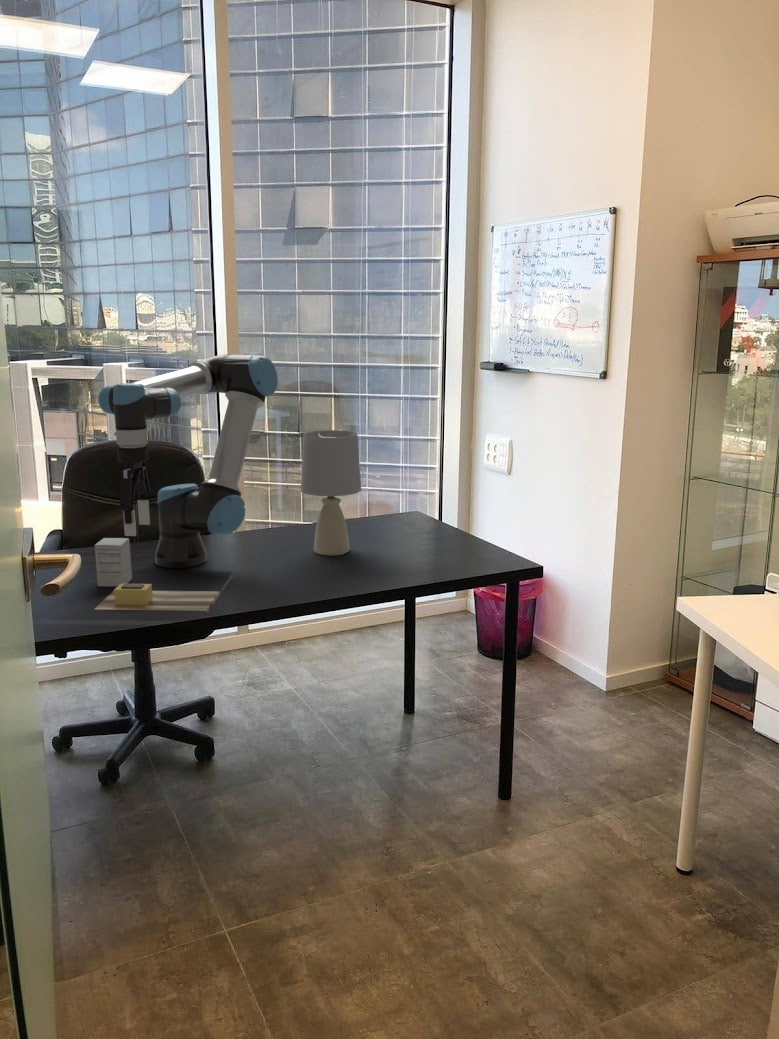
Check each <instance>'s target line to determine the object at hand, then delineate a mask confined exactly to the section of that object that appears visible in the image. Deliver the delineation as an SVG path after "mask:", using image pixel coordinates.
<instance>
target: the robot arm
mask: <svg viewBox="0 0 779 1039" xmlns="http://www.w3.org/2000/svg"><path fill="white" fill-rule="evenodd" d="M277 387H278V373H277V369H276V366H275V365H274V362H273V361H272V360H271V359H270V358H269V357H267V356H265V355H257V354H231V353H224V354H219V355H214V356H210V357H208V358H205V359H201V360H199V361H198V360H197V361H194V362H191V363H190V364H189V365H188V367H185V368H182V369H177V370H175V371H171V372H167V373H163V374H160V375H156V376H153V377H149V378H146V379H142V380H138V381H135V382H127V383H125V382H123V383H117V384H115V385H107V386H105V387H103V388H101V390H100V392H99V394H98V404H99V407H100V409H101V410H102V411H103V412H104V413H106V414H110V415H114V423H115V424H114V425H115V426H114V427H115V432H114V436H115V437H116V445H118V446H117V448H116V452H117V453H116V454H117V455H116V456H117V461H118V462H119V463H124V469H120V471H119V472H120V474H119V475H120V488H119V489H120V490H119V507H118V511H120V512H122V515H123V530H124V536H125V537H136V536H137V524H136V522H137V521H136V512H135V511H136V510H135V509H134V506H135V497H136V493H137V497H138V499H137V511H138V512H137V513H138V514H137V515H138V525H141V526H143V525H144V526H145V525H147V526H149V525H151V519H150V501H149V500H152V499H153V495H152V491H151V486H150V481H149V476H148V471H147V462H148V460H149V446H148V445H147V444H148V443H149V442H148V428H147V427H148V426H147V423H148V422H147V421H148V420H152V419H153V420H154V419H161V418H168V417H172V416H175V415H176V414H178V413H179V412H180V410H181V406H182V400H181V398H184V397H187V396H190V395H193V394H198V395H205V394H209V393H220V394H221V393H223V394H224V395H225V397H226V399H227V401H228V403H227V407H226V410H225V414H224V418H223V421H222V425H221V428H220V433H219V436H218V437H219V438H218V441H217V444H216V449H215V453H214V456H213V461H212V465H211V467H210V468H211V469H210V472H209V476H208V478H207V479H205V480H204V481H202V482H201V485H200V489H199V486H198V484H197V483H183V484H175V485H168V486H164V487H162V488H160V489H159V490H158V492H157V503H156V504H157V514H158V527H159V539H158V542H157V547H156V551H155V554H154V562H155V565H156V566H159V567H160V568H161V567H162V568H166V569H184V568H191V567H196V566H199V565H203V564H205V563H206V562H207V561H208V552H207V550H206V546H205V544H204V542H203V538H202V537H201V532H202V533H207V534H208V533H209V534H210V533H211V534H213V535H225V536H226V535H230V534H233V533H234V532H235V531H237V530H238V529H239V528H240V526H242V523H243V522H244V519H245V515H246V507H245V506H246V503H245V500H244V499H243V498H242V497H241V496H242V491H241V489H240V487H239V482H240V479H241V476H242V475H241V474H242V471H243V467H244V463H245V458H246V455H247V451H248V446H249V444H250V439H251V436H252V435H251V434H252V431H253V428H254V424H255V419H256V415H257V411H258V409H259V408H261V407H263V406H264V405H265V401H266V397H268V398H269V397H271V396H272V395H273V394H274V393H276V390H277Z"/></svg>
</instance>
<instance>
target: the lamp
mask: <svg viewBox="0 0 779 1039" xmlns="http://www.w3.org/2000/svg"><path fill="white" fill-rule="evenodd" d="M358 436H359V435H358V433H357V432H354V431H350V430H337V429H336V430H332V429H331V430H325V429H324V430H313V431H307V432H304V433H303V436H302V454H301V455H302V458H301V475H300V477H301V478H300V492H301V493H302V494H305V495H308V496H309V495H310V496H317V497H323V498H322V499H321V503H322V508H321V510H320V512H319V515H318V518H317V522H316V525H315V526H316V528H315V534H314V544H313V551H314V553H316V554H317V555H320V556H330V557H331V556H333V557H335V556H336V557H337V556H342V555H346V554H347V552H348V553H349V551H350V541H349V534H348V528H347V523H346V522H347V521H346V518H345V515H344V513H343V511H342V508H341V506H340V504H341V501H342V499H341V498H340V497H344V496H350V495H355V494H358V493H360V492H361V491H362V481H361V468H360V453H359V452H360V450H359V440H358ZM345 553H346V554H345Z"/></svg>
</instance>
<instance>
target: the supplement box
mask: <svg viewBox="0 0 779 1039" xmlns="http://www.w3.org/2000/svg"><path fill="white" fill-rule="evenodd" d="M130 543H131V542H130V538H127V537H103V538H102V539H101V540H99V541H98V542H96V544H94V555H95V567H96V579H97V580H96V581H97V587H118V586H119V585H120V584H130V582H131V580H133V571H132V562H131V561H132V560H131V544H130Z"/></svg>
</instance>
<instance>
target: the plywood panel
mask: <svg viewBox="0 0 779 1039" xmlns="http://www.w3.org/2000/svg"><path fill="white" fill-rule="evenodd" d="M220 595H221V594H220V591H219V590H217V591H213V590H206V591H205V590H202V591H201V590H199V591H198V590H197V591H196V590H195V591H194V590H152V597H153V599H152V600H151V601H150V602H149V603H148V605H115V594H114V590H113V591H112V592H111V593H109V594H108V596H106V597H105V598H104V599H102V601H101V602H100V603H99V604H98V605H97V606H96V607H95V608H94V610H112V611H113V610H114V611H115V610H116V611H117V610H118V611H121V610H122V611H124V610H125V611H186V612H187V611H193V612H194V611H197V612H202V611H203V612H204V615H208V613H210V611H211V609H212V608H213V606H214V605H215V603H216V602H217V600H218V598H219V596H220Z"/></svg>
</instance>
